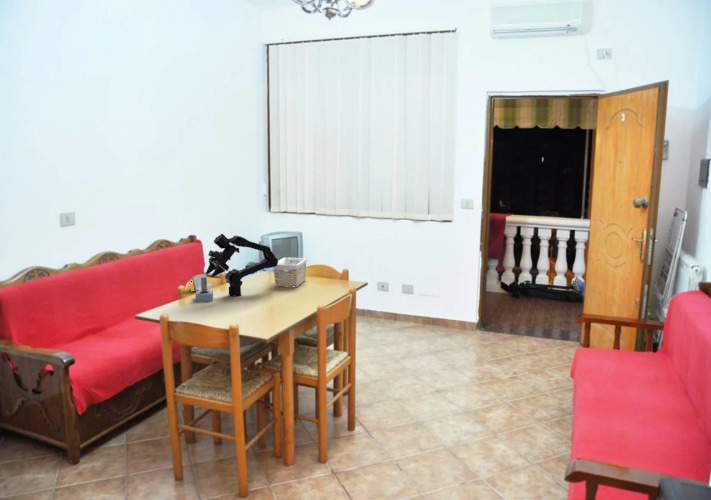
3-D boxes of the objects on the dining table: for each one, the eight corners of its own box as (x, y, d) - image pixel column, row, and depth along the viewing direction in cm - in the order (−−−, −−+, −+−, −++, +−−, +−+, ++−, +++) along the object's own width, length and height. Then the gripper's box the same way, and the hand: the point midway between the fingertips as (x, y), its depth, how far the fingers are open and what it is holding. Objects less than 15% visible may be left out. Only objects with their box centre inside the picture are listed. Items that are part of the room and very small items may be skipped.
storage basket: (297, 288, 338) (297, 264, 335) (272, 287, 340) (271, 263, 338) (307, 280, 361) (307, 257, 359) (283, 279, 364) (283, 257, 361)
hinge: (199, 292, 326) (193, 276, 325) (192, 295, 327) (186, 279, 326) (213, 286, 342) (207, 271, 341) (206, 288, 343) (201, 273, 342)
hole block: (213, 297, 316) (212, 290, 315) (212, 300, 307) (212, 293, 306) (196, 297, 314) (196, 291, 313) (195, 301, 305) (195, 294, 304)
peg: (208, 299, 311) (207, 277, 309) (204, 300, 308) (203, 278, 306) (204, 298, 312) (203, 276, 310) (200, 299, 310) (199, 277, 308)
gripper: (211, 242, 317) (193, 263, 313) (222, 247, 302) (203, 269, 298) (225, 254, 323) (207, 275, 319) (236, 259, 308) (218, 281, 304)
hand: (209, 275), depth 310 cm, fingers open, 9 cm apart
